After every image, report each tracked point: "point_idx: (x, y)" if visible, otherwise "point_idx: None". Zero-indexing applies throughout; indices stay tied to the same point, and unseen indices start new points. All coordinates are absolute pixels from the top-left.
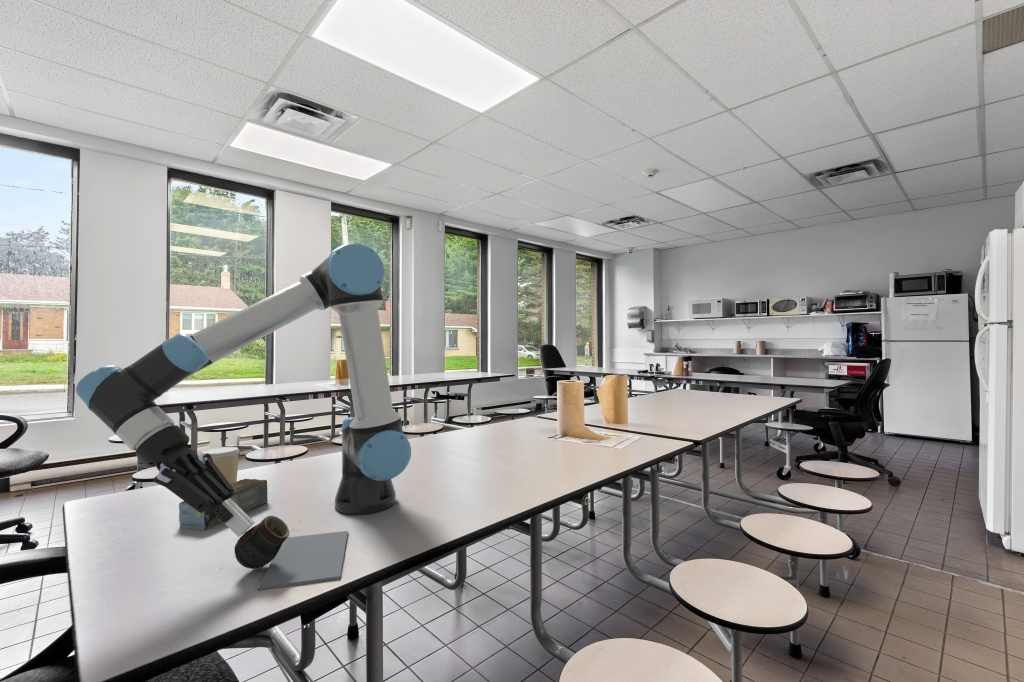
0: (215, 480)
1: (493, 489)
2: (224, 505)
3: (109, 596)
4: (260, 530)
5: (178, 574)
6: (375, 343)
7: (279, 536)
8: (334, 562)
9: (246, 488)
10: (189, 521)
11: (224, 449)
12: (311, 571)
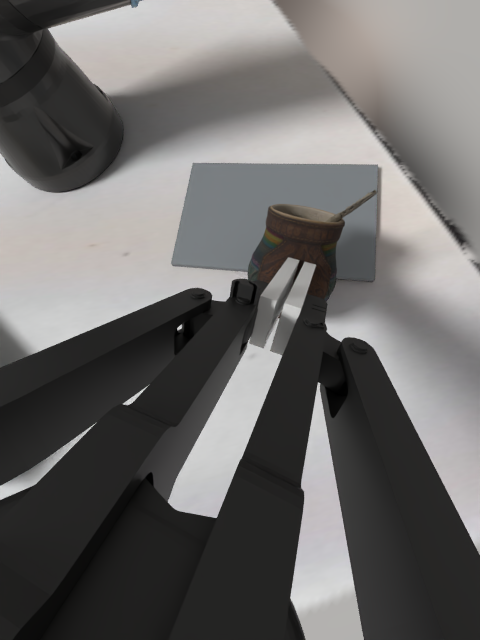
0: (194, 347)
1: None
2: (300, 312)
3: (297, 549)
4: (330, 243)
5: (247, 431)
6: None
7: (334, 214)
8: (321, 175)
9: None
10: None
11: None
12: (342, 205)
